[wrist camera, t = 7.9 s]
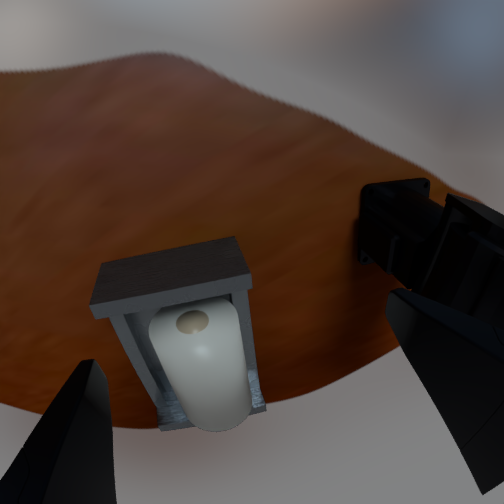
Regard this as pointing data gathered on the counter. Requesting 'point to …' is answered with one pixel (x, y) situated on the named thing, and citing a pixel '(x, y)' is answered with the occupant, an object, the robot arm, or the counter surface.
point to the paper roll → (204, 361)
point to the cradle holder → (171, 293)
